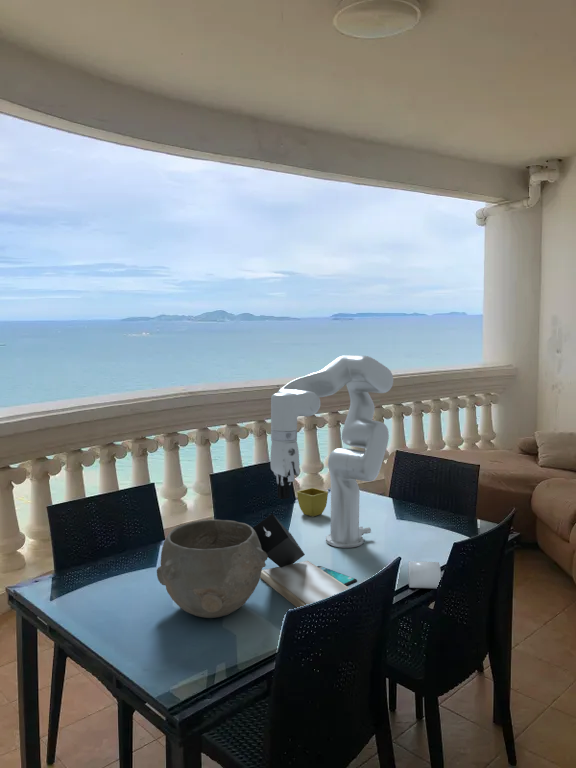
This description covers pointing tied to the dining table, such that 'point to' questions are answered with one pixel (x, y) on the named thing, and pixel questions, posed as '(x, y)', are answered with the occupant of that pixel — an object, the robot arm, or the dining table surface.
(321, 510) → the flower pot
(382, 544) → the dining table surface
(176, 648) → the dining table surface
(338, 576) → the smartphone
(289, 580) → the tray
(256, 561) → the bowl
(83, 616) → the dining table surface
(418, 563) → the white rounded cube
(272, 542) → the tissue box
